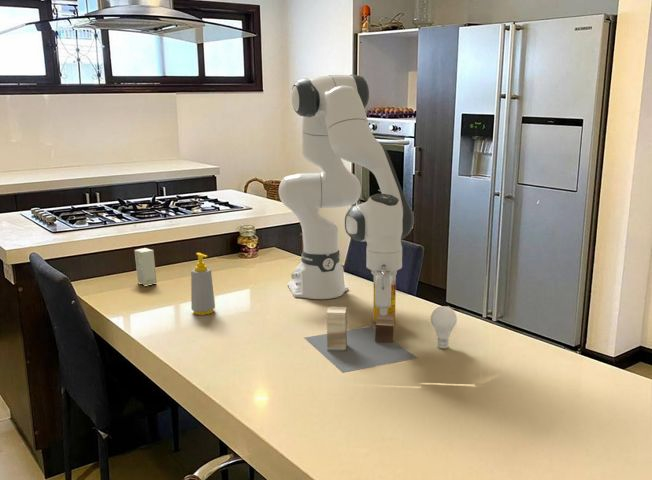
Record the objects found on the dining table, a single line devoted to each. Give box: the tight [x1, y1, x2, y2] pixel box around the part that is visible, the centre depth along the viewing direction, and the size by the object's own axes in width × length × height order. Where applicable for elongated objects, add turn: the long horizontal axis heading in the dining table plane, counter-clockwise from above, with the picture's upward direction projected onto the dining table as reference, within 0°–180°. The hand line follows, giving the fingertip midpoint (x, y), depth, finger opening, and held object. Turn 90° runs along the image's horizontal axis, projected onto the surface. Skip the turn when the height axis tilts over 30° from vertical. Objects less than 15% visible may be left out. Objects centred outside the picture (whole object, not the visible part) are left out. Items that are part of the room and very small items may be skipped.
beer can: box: [372, 274, 397, 323], centre depth 175 cm, size 6×6×15 cm
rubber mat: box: [304, 325, 419, 374], centre depth 158 cm, size 24×20×1 cm
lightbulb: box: [430, 305, 458, 350], centre depth 156 cm, size 6×6×11 cm
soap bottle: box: [190, 252, 216, 316], centre depth 185 cm, size 7×7×18 cm
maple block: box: [326, 306, 348, 352], centre depth 157 cm, size 4×4×10 cm
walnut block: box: [375, 313, 395, 343], centre depth 165 cm, size 4×4×10 cm
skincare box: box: [134, 247, 158, 285], centre depth 216 cm, size 6×4×12 cm
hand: (383, 313), depth 159 cm, fingers closed
